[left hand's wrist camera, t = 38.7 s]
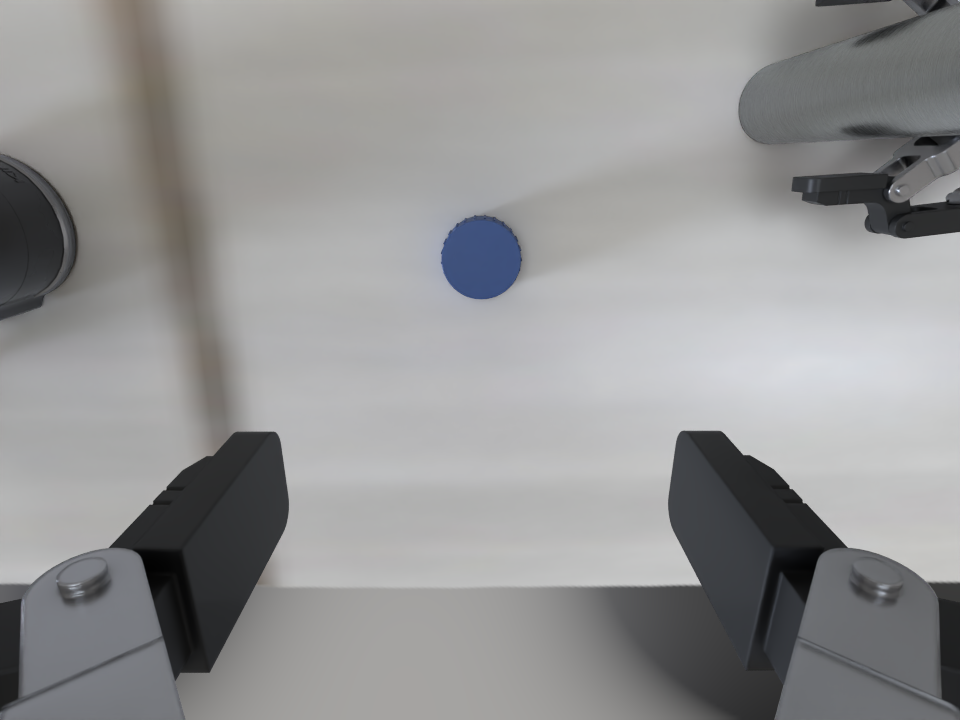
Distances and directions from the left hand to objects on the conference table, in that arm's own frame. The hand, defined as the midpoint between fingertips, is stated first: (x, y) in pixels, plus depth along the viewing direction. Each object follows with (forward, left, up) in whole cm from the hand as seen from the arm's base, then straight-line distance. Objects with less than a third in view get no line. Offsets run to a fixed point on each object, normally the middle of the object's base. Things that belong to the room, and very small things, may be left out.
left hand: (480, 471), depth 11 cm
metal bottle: (+15, -13, -27) cm, 33 cm away
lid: (0, 0, -25) cm, 25 cm away
